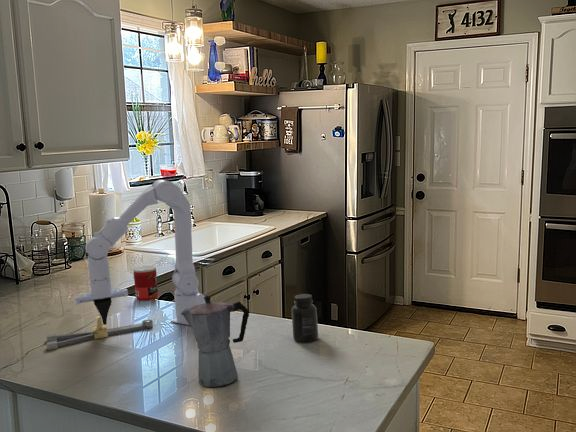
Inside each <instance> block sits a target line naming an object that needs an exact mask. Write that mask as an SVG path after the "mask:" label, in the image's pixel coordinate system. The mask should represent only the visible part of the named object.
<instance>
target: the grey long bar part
mask: <svg viewBox="0 0 576 432" xmlns="http://www.w3.org/2000/svg"><path fill="white" fill-rule="evenodd" d="M152 327H153V328H154V324H153V319H148V318H147V319H144V320H142V322H141V323H135V324H129V325H125V326H119V327H112V328H107V334H108V337H110V336H115V335H121V334H127V333H132V332H137V331H144V330H150V329H153V328H152ZM93 339H94V340H95V338H94V332H93V331H84V332H77V333H76V332H75V333H68V334H67V333H66V334H60V335H59V334H58V335H57V333H51V334H46V347H47V351H53V350H58V348H62V347H66V346H70V345H74V344H78V343H82V342H86V341H90V340H93Z"/></svg>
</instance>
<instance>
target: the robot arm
mask: <svg viewBox="0 0 576 432" xmlns="http://www.w3.org/2000/svg"><path fill="white" fill-rule="evenodd" d="M158 201H159V202H162V203H164V204H166V206H168V208H170V209H171V210H172V211H173V218H174V219H173V220H174V223H173V224H174V241H175V243H174V245H175V264H174V272H173V274H172V276H171V281H172V284H173V285H174V286H175V290H174V292H173V293H174V294H173V295H174V304H175V316H176V317H175V318H173V319H171V320H170V323H176V324H182V325H187V326H190V325H189V324H188V322H187V320H186V319H185V317H184V316H183V315H181V312H182V311H184V310H185V309H188V308H191V307H194V306H196V305H199V304H203V303H206V302H205V300H204V297H205V296H206V295H204V294H202V293H200V292H199V289H198V288H199V286H200V281H199V278H198V277H197V274H196V268H195V264H194V261H193V237H192V216H191V215H192V214H191V210H192V209H191V204H190V203H191V202H190V201H189V200H188V199H187V197H186V196H185V194H184V193H183V191H182V190H181V187H179V186H178V185H176V184H175V183H174V182H172V181H171V180H165V179H157V180H156V181H154V182H153V183H152V184H151V185H149V186H148V187H147V188H145V189H144V190H143V191H142V192H141V193H140V194H139V195H138V196H137V198H136V199H135V200H134V201H132V202H131V204H130V205H129V206H128V207H127V208H126V209H125V210H124V211H123V213H122V214H121V215H120V216H118V217H117V216H116V217H111V218H110V219H109V218H107V219H106V220H105V224H104V225H103V227H101V229H100V230H99V231H95V232H94V233H93V236H92V237H90V238H89V239H88V240H87V241H86V242H85V247H84V248H85V249H84V250H85V251H86V253H87V254H88V255H87V262H88V263H87V268H88V269H87V270H88V276H89V288H90V292H89V293H85V294H81V295H75V296H74V300H75V305H80V304H85V303H88V302H89V303H90V302H93V304H94V306H95V308H96V309H97V310H98V313H99V314H100V315H99V316H100V317H101V320H102V324H103V325H107V320H108V315H109V310H110V309H111V305H112V299H117V298H122V297H124V298H126V297H129V292H128V289H127V288H121V289H112V282H111V281H112V280H111V270H110V263H109V260H108V255H109V254H108V253H109V250H110V248H111V247H113V246H115V244H117V242H118V241H119V240H120V239H121V238H122V237H123V236H124V235H125V234H126V233H127V232H128V225H129V224H130V223H131V222H132V221H134V219H135V218H137V216H139V215H140V214H141V213H142V212H143V211H144V210H145V209H146V208H147V207H149V206H153V205H158V204H159V202H158Z"/></svg>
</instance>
